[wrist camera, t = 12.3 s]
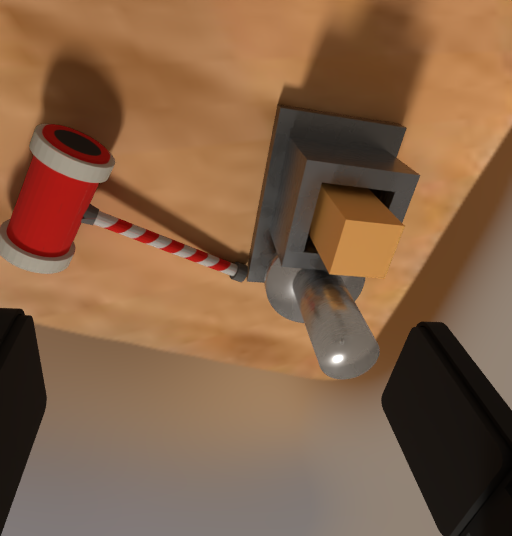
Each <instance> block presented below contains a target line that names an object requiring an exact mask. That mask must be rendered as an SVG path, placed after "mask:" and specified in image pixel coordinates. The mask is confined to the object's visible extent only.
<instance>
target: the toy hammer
mask: <svg viewBox="0 0 512 536" xmlns="http://www.w3.org/2000/svg"><path fill="white" fill-rule="evenodd" d="M29 147H30V150H31V152H32V153H33V154H34V155H33V158H32V161H31V164H30V166H29V169H28V172H27V175H26V177H25V180H24V183H23V186H22V189H21V191H20V194H19V197H18V200H17V202H16V205H15V208H14V211H13V213H12V216H11V219H9V220H7V221H5V222H3V224H2V225H1V226H0V255H1V256H2V257H3V258H4V259H5V260H7V261H8V262H10V263H11V264H13V265H15V266H17V267H19V268H22V269H24V270H27V271H31V272H35V273H45V274H50V273H57V272H60V271H63V270H64V269H66V268H67V267H68V266H69V264H70V261H71V259H72V257H73V255H74V252H75V244H74V242H73V240H74V238H75V236H76V234H77V231H78V229H79V227H80V225H81V223H85V224H90V225H93V224H95V225H97V226H100V227H103V228H106V229H108V230H111V231H114V232H116V233H119V234H122V235H124V236H127V237H130V238H132V239H135V240H138V241H140V242H143V243H146V244H148V245H151V246H154V247H156V248H159V249H162V250H164V251H167V252H170V253H172V254H175V255H178V256H180V257H183V258H186V259H188V260H191V261H194V262H196V263H199V264H202V265H204V266H207V267H210V268H212V269H215V270H217V271H220V272H223V273H225V274H228V275H230V278H231V279H233V280H236V281H239V282H242V281H244V280H245V278H246V276H247V273H248V267H247V266H246V265H244V264H241V263H239V262H236V263H235V264H233V263H231V262H228V261H226V260H223V259H221V258H218V257H215V256H213V255H210V254H208V253H205V252H203V251H200V250H198V249H195V248H192V247H190V246H187V245H185V244H182V243H180V242H177V241H175V240H172V239H169V238H167V237H164V236H162V235H159V234H157V233H154V232H152V231H149V230H147V229H144V228H141V227H139V226H136V225H134V224H131V223H129V222H126V221H124V220H121V219H118V218H116V217H113V216H111V215H108V214H106V213H103V212H101V211H99V209H97V208H96V207H94V206H93V205H91V204H90V202H91V200H92V198H93V195H94V193H95V191H96V189H97V187H98V184H99V183H102V182H105V181H107V180H108V178H109V176H110V173H111V171H112V169H113V167H114V165H115V159H114V157H113V156H112V155H111V153H110V152H109V151H108V150H107V149H106V148H105V147H104V146H103V145H101V144H100V143H99V142H97V141H96V140H94V139H93V138H91V137H89V136H87V135H85V134H83V133H81V132H79V131H77V130H74V129H72V128H69V127H65V126H61V125H55V124H40V125H37V126H36V128H35V131H34V133H33V136H32V139H31V142H30V145H29Z"/></svg>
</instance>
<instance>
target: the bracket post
mask: <svg viewBox="0 0 512 536" xmlns="http://www.w3.org/2000/svg"><path fill="white" fill-rule="evenodd" d="M405 131H406V127H404V126H402V125H401V124H396V123H390V122H384V121H378V120H372V119H365V118H359V117H353V116H347V115H341V114H334V113H328V112H322V111H316V110H310V109H304V108H297V107H291V106H285V105H279V104H278V105H277V110H276V115H275V121H274V126H273V131H272V137H271V142H270V147H269V153H268V158H267V163H266V169H265V174H264V179H263V185H262V190H261V195H260V201H259V206H258V211H257V217H256V222H255V227H254V233H253V238H252V243H251V249H250V254H249V259H248V265H247V267H248V273H247V276H246V278H247V281H249V282H262V283H265V289H266V293H267V297H268V300H269V302H270V304H271V306H272V307H273V308H274V309H275V311H277V312H278V313H279V314H280V315H281V316H283V317H285V318H287V319H289V320H292V321H295V322H300V323H305V326H306V328H307V331H308V334H309V337H310V340H311V342H312V345H313V348H314V351H315V354H316V356H317V359H318V362H319V365H320V368H321V370H322V371H323V372H324V373H325V374H326V375H327V376H329V377H332V378H335V379H350V378H354V377H357V376H359V375H361V374H363V373H365V372H366V371H368V370H369V369H370V368H371V367H372V366H373V365H374V364H375V363H376V361H377V359H378V356H379V346H378V343H377V342H376V340H375V338H374V336H373V334H372V332H371V331H370V329H369V327H368V325H367V323H366V322H365V320H364V318H363V316H362V314H361V313H360V311H359V309H358V307H357V305H356V303H355V300H356V299H357V298H358V296H359V295H360V293H361V291H362V288H363V286H364V282H365V277H357V276H344V275H332V274H329V273H328V271H327V269H326V267H325V265H324V263H323V261H322V259H321V257H320V255H319V253H318V251H317V249H316V247H315V245H314V243H313V242H312V240H311V238H310V236H309V234H308V233H309V230H310V226H311V222H312V218H313V214H314V210H315V207H316V203H317V199H318V195H319V191H320V188H321V184H322V183H330V184H337V185H345V186H353V187H361V188H368V189H369V190H370V191H371V192H372V193H373V194H374V195H375V196H376V197H377V198H378V199H379V200H380V201H381V202H382V203H383V204H384V205H385V206H386V207H387V208H388V209H389V210H390V211H391V212H392V213H393V214H394V215H395V217H396V218H397V219H398V220H399V221H400V222H401V223H402V222H403V219H404V217H405V214H406V211H407V209H408V206H409V203H410V201H411V198H412V196H413V193H414V190H415V188H416V185H417V182H418V180H419V177H420V175H419V174H418V173H416V172H415V171H414V170H412V169H411V168H410V167H408V166H407V165H406V164H404V163H403V162H401V161H400V160H399V159H397V158H396V157H397V154H398V151H399V148H400V146H401V143H402V140H403V137H404V134H405Z"/></svg>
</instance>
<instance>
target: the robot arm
mask: <svg viewBox="0 0 512 536" xmlns="http://www.w3.org/2000/svg"><path fill="white" fill-rule="evenodd" d="M46 400H47V397H46V390H45V385H44V379H43V373H42V367H41V362H40V356H39V350H38V345H37V339H36V333H35V328H34V322H33V318H32V316H29V315H25V314H24V311H23V310H22V309H12V308H0V536H1V533H2V531H3V528H4V525H5V522H6V519H7V517H8V514H9V511H10V508H11V505H12V502H13V499H14V497H15V494H16V491H17V488H18V486H19V483H20V480H21V477H22V474H23V471H24V469H25V466H26V463H27V460H28V457H29V454H30V452H31V448H32V446H33V443H34V440H35V438H36V434H37V432H38V429H39V426H40V423H41V420H42V417H43V415H44V412H45V408H46ZM381 401H382V407H383V410H384V412H385V414H386V417H387V419H388V421H389V423H390V425H391V427H392V430H393V432H394V434H395V436H396V438H397V440H398V443H399V445H400V447H401V449H402V451H403V454H404V456H405V458H406V460H407V462H408V464H409V467H410V469H411V471H412V473H413V475H414V477H415V480H416V482H417V484H418V486H419V488H420V490H421V493H422V495H423V497H424V499H425V501H426V503H427V506H428V508H429V510H430V512H431V514H432V516H433V519H434V521H435V523H436V525H437V528H438V529H439V531H440V533H441V534H442V535H443V536H512V410H511V409H510V408H509V407H508V405H507V404H506V403H505V401H504V400H503V399H502V397H501V396H500V395H499V393H498V392H497V391H496V390H495V388H494V387H493V386H492V384H491V383H490V382H489V380H488V379H487V378H486V376H485V375H484V374H483V373H482V371H481V370H480V369H479V367H478V366H477V365H476V363H475V362H474V361H473V360H472V358H471V357H470V356H469V354H468V353H467V352H466V350H465V349H464V348H463V346H462V345H461V344H460V343H459V341H458V340H457V339H456V337H455V336H454V335H453V333H452V332H451V331H450V330H449V328H448V327H447V326H446V325H445V324H444V323H442V322H420V323H419V324H417V326H416V327H413V328H412V329H411V331H410V333H409V335H408V337H407V340H406V342H405V344H404V347H403V349H402V351H401V353H400V356H399V358H398V360H397V362H396V365H395V367H394V369H393V371H392V374H391V376H390V378H389V381H388V383H387V386H386V388H385V390H384V392H383V394H382V400H381Z"/></svg>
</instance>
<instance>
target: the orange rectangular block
mask: <svg viewBox="0 0 512 536" xmlns="http://www.w3.org/2000/svg"><path fill="white" fill-rule="evenodd" d="M404 227H405V226H404V225H403V224H402V223H401V222H400V221H399V220H398V219H397V218H396V217H395V215H394V214H393V213H392V212H391V211H390V210H389V209H388V208H387V207H386V206H385V205H384V204H383V203H382V202H381V201H380V200H379V199H378V198H377V197H376V196H375V195H374V194H373V193H372V192H371V191H370V190H369V189H368V188H361V187H353V186H345V185H337V184H330V183H322V184H321V188H320V191H319V195H318V199H317V203H316V207H315V210H314V214H313V218H312V222H311V226H310V230H309V233H308V234H309V236H310V238H311V240H312V242H313V243H314V245H315V247H316V249H317V251H318V253H319V255H320V257H321V259H322V261H323V263H324V265H325V267H326V269H327V271H328V273H329V274H332V275H344V276H357V277H369V278H382V279H385V276H386V274H387V271H388V268H389V266H390V263H391V261H392V258H393V255H394V253H395V250H396V248H397V245H398V243H399V240H400V237H401V235H402V232H403V230H404Z"/></svg>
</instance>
